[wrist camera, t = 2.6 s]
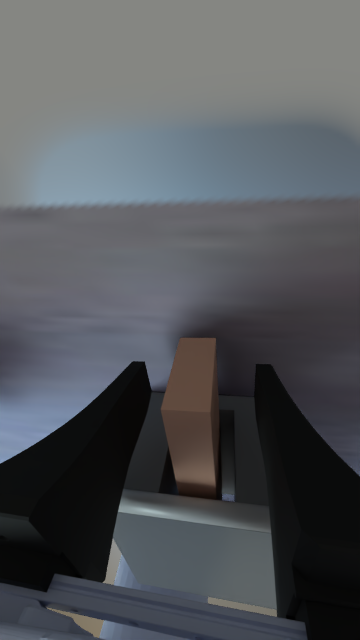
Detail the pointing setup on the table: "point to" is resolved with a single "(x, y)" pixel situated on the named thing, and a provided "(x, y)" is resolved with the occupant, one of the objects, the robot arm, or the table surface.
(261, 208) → the table surface
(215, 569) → the grey green box
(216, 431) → the orange tan rectangular block
